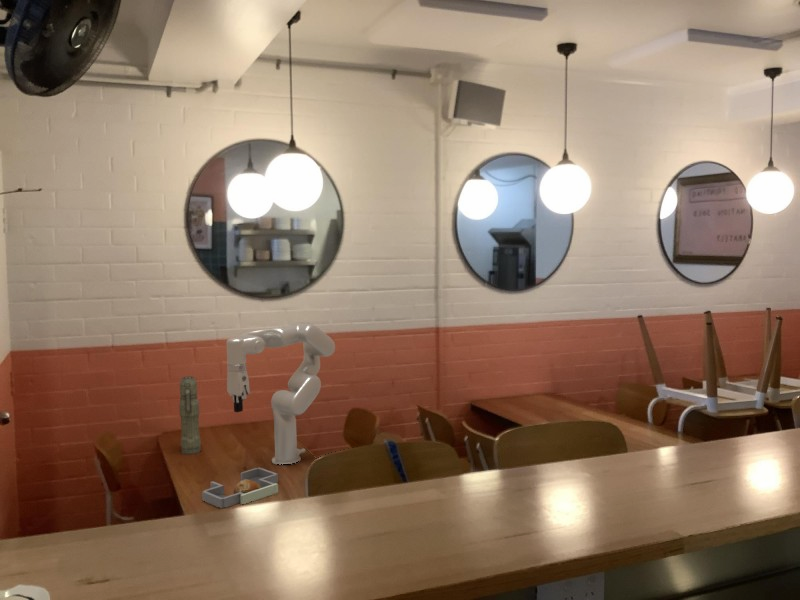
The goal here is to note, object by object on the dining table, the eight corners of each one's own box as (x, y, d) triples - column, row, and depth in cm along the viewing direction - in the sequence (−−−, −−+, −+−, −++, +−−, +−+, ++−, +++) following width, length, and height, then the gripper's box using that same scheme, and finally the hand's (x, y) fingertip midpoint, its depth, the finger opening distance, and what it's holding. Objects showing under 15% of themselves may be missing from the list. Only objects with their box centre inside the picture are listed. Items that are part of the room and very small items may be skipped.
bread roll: (243, 499, 285) (234, 481, 285) (266, 489, 284) (257, 471, 284) (236, 509, 275) (226, 490, 275) (259, 498, 274) (250, 479, 274)
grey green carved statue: (181, 456, 330) (178, 380, 326) (180, 449, 341) (177, 375, 337) (202, 454, 332) (198, 379, 329) (200, 447, 344) (197, 374, 340)
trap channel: (259, 475, 302) (258, 467, 302) (293, 487, 287) (292, 478, 287) (192, 496, 279) (191, 487, 279) (225, 510, 264) (225, 501, 264)
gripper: (255, 368, 297) (256, 412, 298) (234, 364, 307) (235, 407, 308) (239, 371, 291) (241, 416, 293) (218, 367, 301) (220, 410, 303)
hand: (238, 411), depth 301 cm, fingers closed
